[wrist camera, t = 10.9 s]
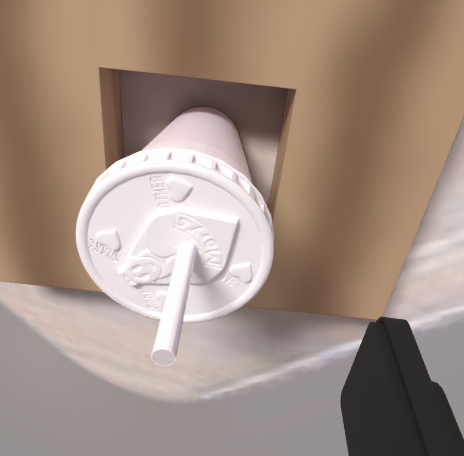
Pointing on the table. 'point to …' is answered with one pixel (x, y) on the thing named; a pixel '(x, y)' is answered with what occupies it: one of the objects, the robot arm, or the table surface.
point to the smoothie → (178, 228)
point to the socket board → (291, 138)
